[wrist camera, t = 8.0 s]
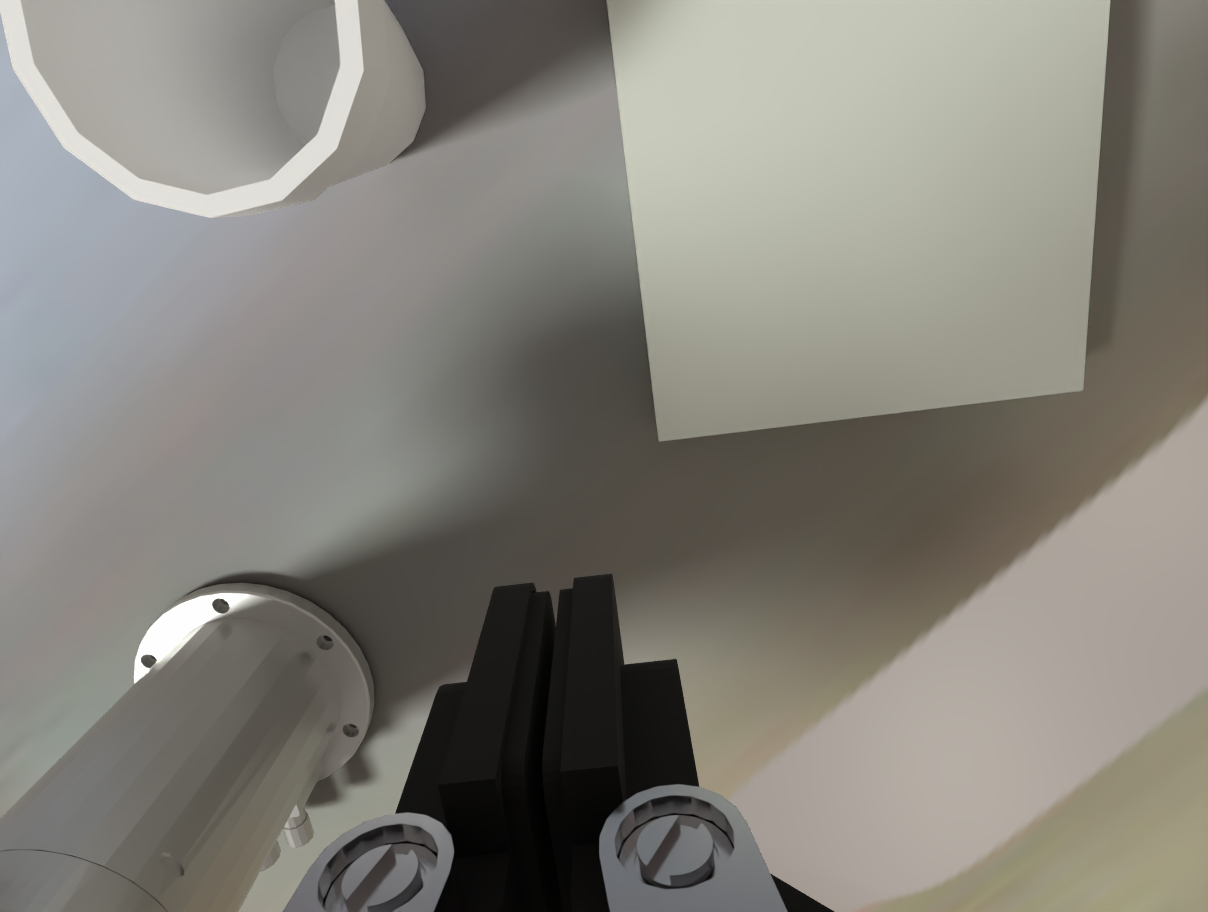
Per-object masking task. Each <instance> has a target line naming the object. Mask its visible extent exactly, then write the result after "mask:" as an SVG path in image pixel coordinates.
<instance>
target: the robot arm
mask: <svg viewBox="0 0 1208 912" xmlns="http://www.w3.org/2000/svg"><path fill="white" fill-rule="evenodd" d="M133 680H134V685H133V686H132V687H131V688H130V689H129V690H128V691H127V692H126V693H125V694H124V695H123V696H122V697H121V698H120V699H119V700H118V701H117V702H116V703H115V704H114V705H113V706H112V707H111V708H110V709H109V710H108V711H107V712H106V713H105V714H104V715H103V716H102V717H101V718H100V719H99V720H98V721H97V722H96V723H95V724H94V725H93V726H92V727H91V728H90V729H89V730H88V731H87V732H86V733H85V734H84V735H83V736H82V737H81V738H80V739H79V740H78V741H77V742H76V743H75V744H74V745H73V746H72V747H71V748H70V749H69V750H68V751H67V752H66V753H65V754H64V755H63V756H62V757H61V758H60V759H59V760H58V761H57V762H56V763H55V764H54V765H53V766H52V767H51V768H50V769H49V770H48V771H47V772H46V773H45V774H44V775H43V776H42V777H41V778H40V779H39V780H38V781H37V782H36V783H35V784H34V785H33V786H32V787H31V788H30V789H29V790H28V791H27V792H26V793H25V794H24V795H23V796H22V797H21V798H20V799H19V800H18V801H17V802H16V803H15V804H14V805H13V806H12V807H11V808H10V809H9V810H8V811H7V812H6V813H5V814H4V815H3V816H2V817H1V818H0V912H238V911H239V909H240V908H241V906H242V904H243V902H244V900H245V898H246V896H247V895H248V893H249V891H250V889H251V887H252V885H253V883H254V881H255V880H256V878H257V876H258V874H259V872H261V871H264V870H266V869H268V868H269V867H270V866H272V865H273V864H274V863H275V862H276V861H277V859H278V858H279V856H280V852H281V850H280V847H279V844H278V841H277V839H278V837H279V835H280V833H281V831H282V829H283V832H284V835H285V838H286V841H287V844H288V845H289V846H290V847H292V848H298V847H301V846H303V845H305V844H306V843H308V842H309V841H310V840H311V839H312V837H313V833H314V831H313V828H312V825H311V822H310V819H309V816H308V814H307V812H306V811H305V808H304V806H305V804H306V802H307V800H308V798H309V796H310V794H311V792H312V790H313V788H314V786H315V784H316V782H317V781H319V780H321V779H324V778H326V777H328V776H329V775H331V774H332V773H334V772H335V771H337V770H338V769H340V768H341V767H342V766H343V765H344V764H345V763H346V762H347V761H348V760H349V759H350V758H351V757H352V756H353V755H354V754H355V752H356V751H357V749H358V747H359V746H360V744H361V742H362V740H363V739H364V737H365V734H366V732H367V730H368V727H369V725H370V723H371V720H372V715H373V709H374V704H375V699H374V683H373V679H372V676H371V672H370V669H369V665H368V663H367V661H366V659H365V657H364V655H363V653H362V651H361V649H360V647H359V646H358V644H357V643H356V642H355V640H354V639H353V638H352V637H351V635H350V634H349V633H348V631H347V630H346V629H345V628H344V627H343V626H342V625H341V624H340V623H339V622H337V621H336V620H335V619H334V618H333V617H332V616H331V615H330V614H329V613H327V612H326V611H324V610H323V609H321V608H319V607H318V606H316V605H315V604H313V603H312V602H310V601H308V600H306V599H304V598H302V597H300V596H297V595H295V594H293V593H291V592H288V591H285V590H281V589H278V588H274V587H270V586H267V585H260V584H250V583H229V584H218V585H214V586H210V587H206V588H202V589H199V590H196V591H194V592H192V593H190V594H188V595H186V596H184V597H182V598H180V599H179V600H177V601H176V602H175V603H174V604H172V605H171V606H170V607H169V608H167V609H166V610H165V611H164V612H163V613H162V614H161V615H160V616H159V617H158V618H157V619H156V620H155V621H154V622H153V623H152V624H151V625H150V626H149V627H148V629H147V631H146V632H145V634H144V636H143V637H142V639H141V641H140V643H139V646H138V648H137V651H136V654H135V659H134V674H133ZM283 912H834V911H832V910H831V909H829V908H827V907H825V906H824V905H822V904H821V903H819V902H817V901H815V900H814V899H812V898H810V897H809V896H807V895H805V894H804V893H802V892H800V891H798V890H797V889H795V888H794V887H792V886H790V885H789V884H787V883H785V882H783V881H781V880H780V879H778V878H777V877H775V876H773V875H772V874H770V872H769V870H768V868H767V865H766V863H765V861H764V859H763V857H762V854H761V852H760V850H759V848H758V845H757V843H756V841H755V839H754V837H753V835H752V832H751V830H750V828H749V826H748V823H747V822H746V820H745V819H744V817H743V816H742V815H741V813H740V811H739V810H738V809H737V807H736V806H735V805H733V804H732V803H731V802H729V801H728V800H727V799H725V798H724V797H723V796H721V795H720V794H717V793H715V792H712V791H710V790H707V789H704V788H702V787H699V783H698V777H697V771H696V765H695V760H694V754H693V748H692V743H691V737H690V731H689V726H688V720H687V714H686V709H685V703H684V697H683V692H682V686H681V680H680V675H679V669H678V664H677V660H676V659H672V660H663V661H653V662H644V663H635V664H626V665H624V658H623V651H622V643H621V635H620V628H619V620H618V612H617V605H616V597H615V589H614V582H613V576H612V574H606V575H597V576H588V577H579V578H574V583H573V588H572V589H563V590H560V594H559V604H558V613H557V623H556V625H555V619H554V613H553V607H552V601H551V596H550V593H549V591H546V592H536V588H535V585H534V583H526V584H517V585H509V586H500V587H495V588H494V590H493V593H492V596H491V600H490V603H489V607H488V610H487V614H486V617H485V621H484V624H483V628H482V631H481V635H480V638H479V642H478V645H477V649H476V652H475V656H474V659H473V663H472V666H471V670H470V673H469V677H468V680H467V682H462V683H453V684H444V685H442V686H440V687H439V689H438V691H437V693H436V696H435V699H434V702H433V705H432V708H431V711H430V714H429V717H428V719H427V722H426V725H425V728H424V731H423V734H422V737H421V740H420V743H419V746H418V749H417V752H416V754H415V757H414V760H413V763H412V766H411V769H410V772H409V775H408V778H407V781H406V784H405V787H404V789H403V792H402V795H401V798H400V801H399V804H398V807H397V810H396V813H395V814H389V815H384V816H381V817H378V818H375V819H372V820H369V821H366V822H364V823H362V824H360V825H358V826H356V827H354V828H353V829H351V830H349V831H347V832H345V833H344V834H342V835H341V836H340V837H339V838H337V839H336V840H335V841H334V842H332V843H331V844H330V845H329V846H328V847H326V848H325V849H324V850H323V852H322V853H321V854H320V855H319V857H318V858H317V859H316V860H315V862H314V863H313V864H312V865H311V867H310V868H309V870H308V871H307V873H306V874H305V876H304V878H303V879H302V881H301V883H300V884H299V886H298V887H297V889H296V891H295V892H294V894H293V896H292V897H291V899H290V900H289V902H288V904H287V905H286V907H285V909H284V910H283Z"/></svg>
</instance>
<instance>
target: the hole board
mask: <svg viewBox="0 0 1208 912" xmlns="http://www.w3.org/2000/svg"><path fill="white" fill-rule="evenodd" d="M606 1H607V10H608V18H609V27H610V35H611V44H612V52H613V61H614V69H615V78H616V86H617V95H618V103H619V112H620V120H621V129H622V137H623V146H624V154H625V163H626V171H627V180H628V188H629V197H630V205H631V214H632V222H633V231H634V239H635V248H636V256H637V265H638V273H639V282H640V290H641V299H642V307H643V316H644V324H645V333H646V341H647V350H648V358H649V367H650V375H651V384H652V392H653V401H654V409H655V418H656V425H657V433H658V440H659V442H661V441H669V440H677V439H686V438H694V437H702V436H711V435H719V434H727V433H736V432H744V431H752V430H760V429H769V428H777V427H785V426H794V425H802V424H810V423H818V422H827V421H835V420H843V419H852V418H860V417H868V416H877V415H885V414H893V413H901V412H910V411H918V410H926V409H935V408H943V407H951V406H959V405H968V404H976V403H984V402H993V401H1001V400H1009V399H1018V398H1026V397H1034V396H1042V395H1051V394H1059V393H1067V392H1076V391H1083V385H1084V371H1085V356H1086V342H1087V328H1088V313H1089V299H1090V285H1091V271H1092V256H1093V242H1094V228H1095V213H1096V199H1097V185H1098V171H1099V156H1100V142H1101V128H1102V113H1103V99H1104V85H1105V70H1106V56H1107V42H1108V28H1109V13H1110V0H606Z"/></svg>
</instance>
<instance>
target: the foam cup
mask: <svg viewBox="0 0 1208 912" xmlns="http://www.w3.org/2000/svg"><path fill="white" fill-rule="evenodd" d="M0 13H1V17H2V22H3V26H4V31H5V35H6V40H7V44H8V49H9V53H10V58H11V62H12V67H13V70H14V72H15V73H16V75H17V76H18V78H19V79H20V81H21V82H22V84H23V86H24V87H25V89H26V90H27V92H28V93H29V95H30V96H31V98H32V99H33V101H34V102H35V104H36V106H37V107H38V109H39V110H40V112H41V113H42V115H43V116H44V118H45V119H46V121H47V123H48V124H49V126H50V127H51V129H52V130H53V132H54V133H55V135H56V136H57V138H58V139H59V141H60V143H61V144H62V146H63V147H64V148H65V149H66V150H68V151H69V152H70V153H72V154H73V155H74V156H76V157H77V158H78V159H80V160H81V161H82V162H84V163H85V164H86V165H88V166H89V167H90V168H92V169H93V170H95V171H96V172H97V173H99V174H100V175H101V176H103V177H104V178H105V179H107V180H108V181H109V182H111V183H112V184H113V185H115V186H116V187H117V188H119V189H120V190H121V191H123V192H124V193H126V194H127V195H128V196H130V197H131V198H132V199H134V200H137V201H142V202H146V203H150V204H154V205H158V206H163V207H167V208H171V209H175V210H179V211H183V212H188V213H192V214H196V215H200V216H204V217H208V218H219V217H236V216H251V215H255V214H259V213H263V212H267V211H271V210H275V209H279V208H284V207H288V206H292V205H296V204H300V203H304V202H308V201H312V200H315V199H316V198H317V197H318V196H319V195H321V194H322V193H323V192H324V191H325V190H326V189H327V188H328V187H330V186H333V185H335V184H338V183H340V182H343V181H346V180H348V179H351V178H353V177H356V176H359V175H361V174H364V173H366V172H369V171H372V170H374V169H377V168H379V167H382V166H385V165H387V164H388V163H390V162H392V161H393V160H394V159H395V158H396V157H397V156H398V155H399V154H400V153H401V152H402V151H404V150H405V149H406V148H407V147H408V146H409V145H410V144H411V143H412V142H413V141H414V139H415V136H416V134H417V131H418V128H419V126H420V123H421V120H422V118H423V115H424V112H425V110H426V101H425V85H424V71H423V69H422V67H421V65H420V63H419V61H418V59H417V57H416V55H415V53H414V51H413V49H412V47H411V45H410V43H409V41H408V39H407V37H406V35H405V33H404V31H403V29H402V28H401V26H400V24H399V23H398V21H397V20H396V18H395V16H394V15H393V13H392V11H391V10H390V8H389V7H388V5H387V3H386V2H385V0H0Z"/></svg>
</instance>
